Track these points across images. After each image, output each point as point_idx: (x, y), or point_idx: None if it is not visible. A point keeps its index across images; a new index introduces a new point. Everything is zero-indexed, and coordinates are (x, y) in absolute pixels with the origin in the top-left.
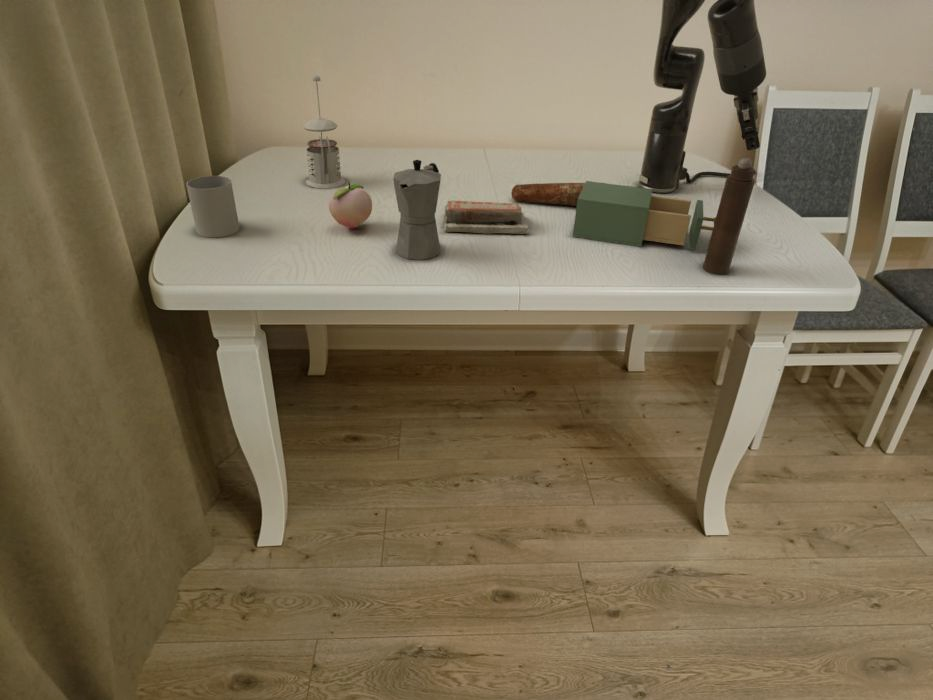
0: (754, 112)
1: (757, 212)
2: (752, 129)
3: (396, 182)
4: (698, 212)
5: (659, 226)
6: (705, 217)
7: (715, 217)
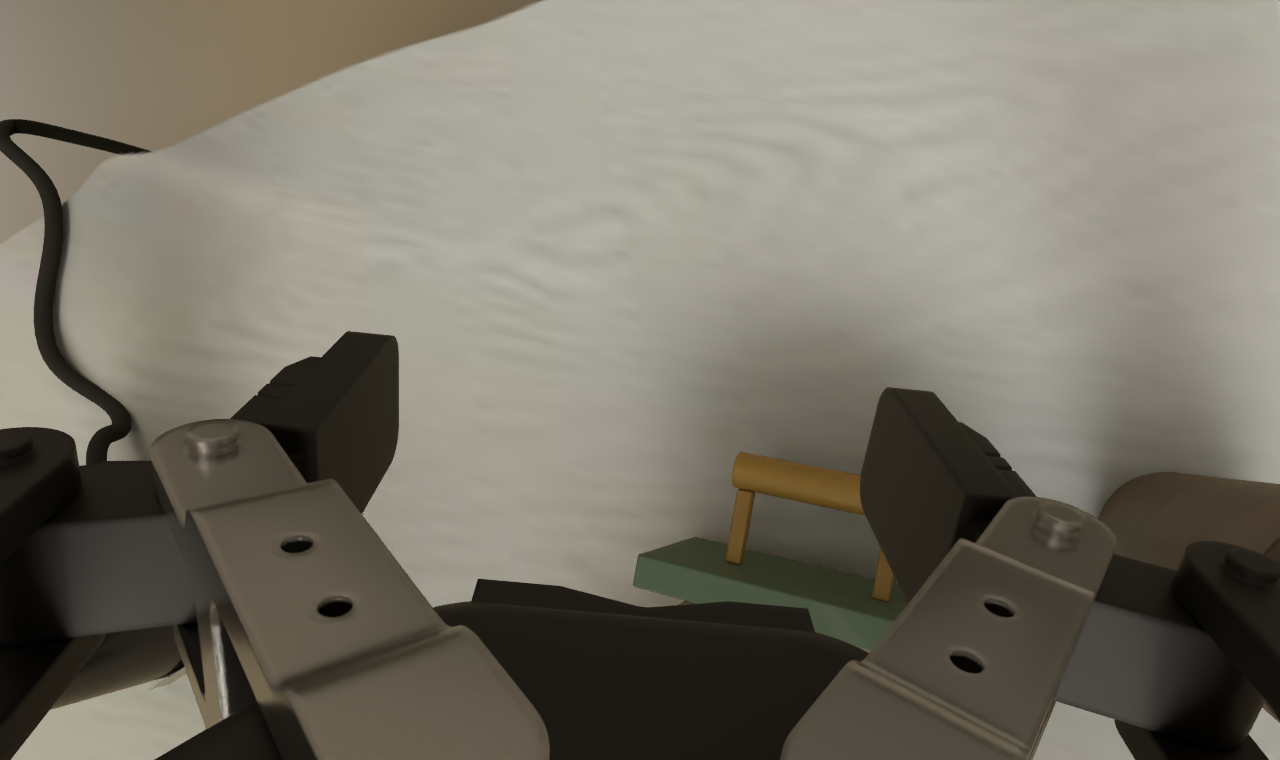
0: (368, 399)
1: (399, 184)
2: (1187, 644)
3: None
4: (859, 641)
5: None
6: (737, 535)
7: (741, 483)
